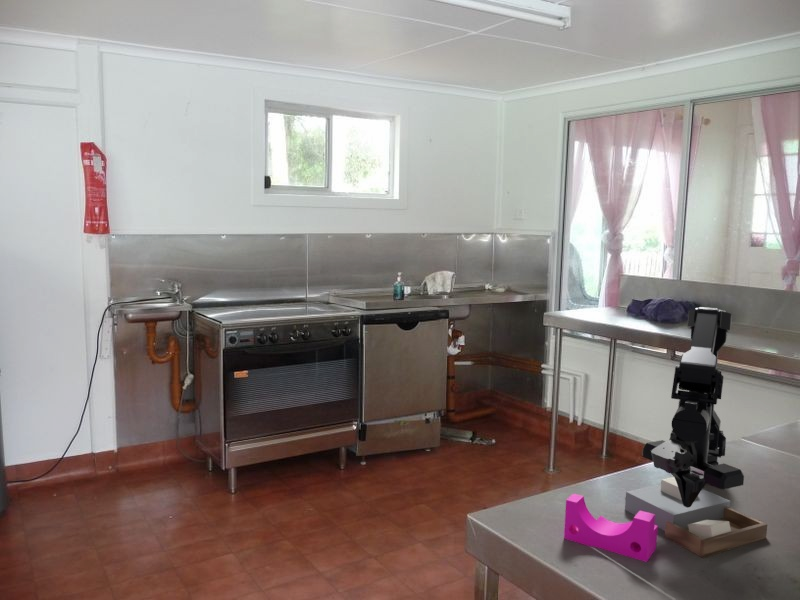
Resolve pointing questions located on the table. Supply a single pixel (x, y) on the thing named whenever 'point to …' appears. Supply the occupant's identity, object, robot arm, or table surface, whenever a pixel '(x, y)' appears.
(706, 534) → the tile
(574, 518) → the toy block
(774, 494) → the table surface
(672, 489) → the tile
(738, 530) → the box
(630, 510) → the board
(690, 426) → the robot arm
